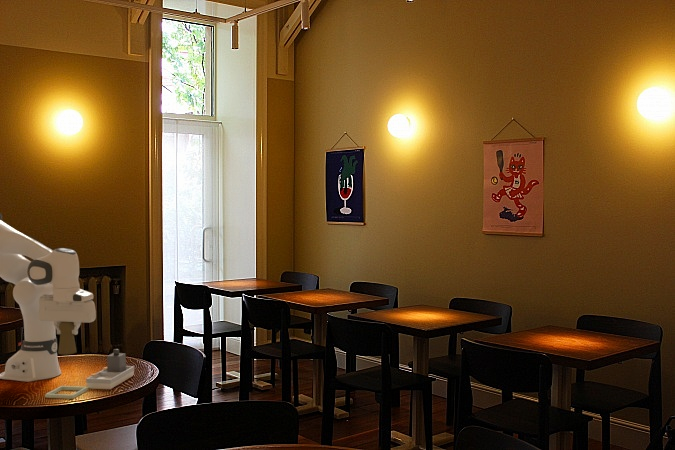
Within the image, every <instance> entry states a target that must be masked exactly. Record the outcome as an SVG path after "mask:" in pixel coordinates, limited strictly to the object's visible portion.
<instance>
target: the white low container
mask: <svg viewBox="0 0 675 450" xmlns="http://www.w3.org/2000/svg"><path fill="white" fill-rule="evenodd" d="M89 375H90V376H89V377H86V379H85V383H86V387H88V389H95V390H96V389H97V390H98V389H99V390H100V389H101V390H111V389H113V388H114V387H117V386H119V385H120V384H122V383H123V382H125V381H127V380H129V379H130V378H132V377H133V375H135V365H133V366H132V365H131V366H130V365H126V370H125V371H124V372H107V366H105V367H102V370H100V371H98V372H95V373H91V374H89Z"/></svg>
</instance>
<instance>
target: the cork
mask: <svg viewBox="0 0 675 450" xmlns="http://www.w3.org/2000/svg"><path fill="white" fill-rule="evenodd" d="M75 326H76V325H74V322H60V324H59V330H60V331H61V333H60V334H59V341H58V342H59V344H58V350H57V355H64V356H65V355H73V354H76V353H77V346H76V341H75V339H76V338H75V335H72V332H71V331H72V330H73V329H74V328H75Z"/></svg>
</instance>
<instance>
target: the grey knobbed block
mask: <svg viewBox="0 0 675 450" xmlns="http://www.w3.org/2000/svg"><path fill="white" fill-rule="evenodd" d="M106 364H107V366H106V367H107V372H124V371H125V370H126V366H127V358H126V353H122V352H120V349H119V348H114V349H113V352H112V353H110V354H109V355H107V356H106Z"/></svg>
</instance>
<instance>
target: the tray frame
mask: <svg viewBox="0 0 675 450" xmlns="http://www.w3.org/2000/svg"><path fill="white" fill-rule="evenodd" d="M61 391H75V393H73V394H63V393H61V394H60V393H58V392H61ZM87 391H89V388H88V387H87V386H72V385H71V386H70V385H61V386H58V387H56V388H55V389H53V390H51V391H48V392H47V393H45V394H44V395H45V398H47V399H49V398H50V399H68V400H69V399H70V400H73V399H75V398H77V397H79V396H80V395H82V394H83V393H84V394H85V393H86V392H87Z"/></svg>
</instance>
